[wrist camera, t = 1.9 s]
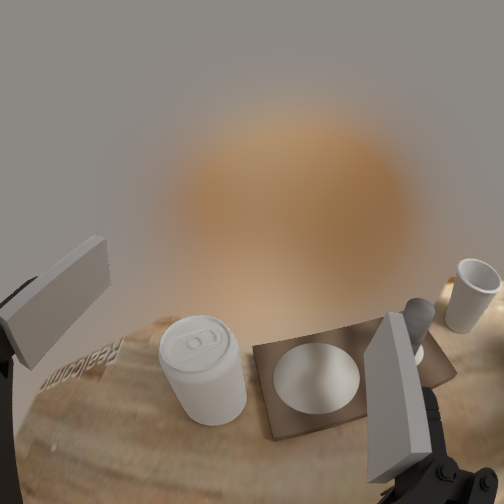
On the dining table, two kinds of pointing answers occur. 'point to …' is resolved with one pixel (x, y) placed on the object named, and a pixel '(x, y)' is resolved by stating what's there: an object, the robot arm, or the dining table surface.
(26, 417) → the dining table surface
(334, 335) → the board
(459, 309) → the dixie cup
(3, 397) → the robot arm
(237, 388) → the beverage can
